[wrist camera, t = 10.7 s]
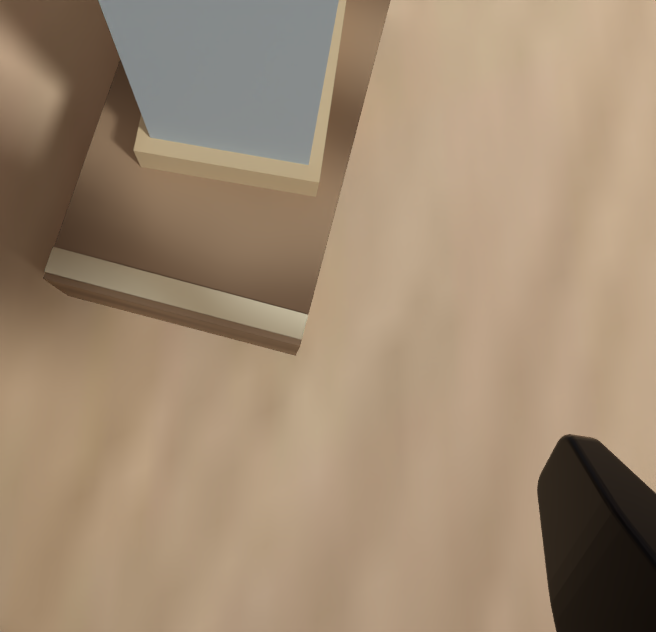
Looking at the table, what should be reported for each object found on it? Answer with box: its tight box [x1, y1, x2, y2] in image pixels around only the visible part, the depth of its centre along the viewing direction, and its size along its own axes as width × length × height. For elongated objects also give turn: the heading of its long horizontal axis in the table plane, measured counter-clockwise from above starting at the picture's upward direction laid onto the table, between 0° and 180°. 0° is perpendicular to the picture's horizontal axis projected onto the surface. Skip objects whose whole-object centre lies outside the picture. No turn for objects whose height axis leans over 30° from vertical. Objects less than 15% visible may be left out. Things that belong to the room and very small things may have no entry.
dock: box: [43, 0, 390, 355], centre depth 22 cm, size 14×8×3 cm, turn 166°
